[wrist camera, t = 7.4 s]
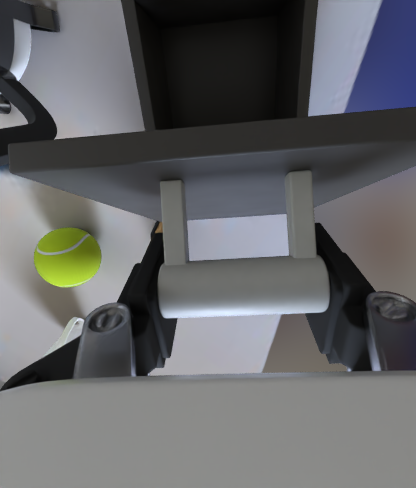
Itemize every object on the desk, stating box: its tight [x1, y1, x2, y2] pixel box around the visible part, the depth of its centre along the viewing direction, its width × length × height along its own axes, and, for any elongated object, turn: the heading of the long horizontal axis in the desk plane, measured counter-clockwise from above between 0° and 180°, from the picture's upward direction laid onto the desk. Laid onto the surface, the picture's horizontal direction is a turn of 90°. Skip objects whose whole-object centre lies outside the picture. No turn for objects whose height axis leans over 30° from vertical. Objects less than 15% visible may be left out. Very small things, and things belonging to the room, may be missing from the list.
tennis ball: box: [34, 228, 101, 287], centre depth 31 cm, size 7×7×7 cm
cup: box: [42, 317, 84, 358], centre depth 38 cm, size 7×10×8 cm
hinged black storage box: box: [121, 0, 318, 131], centre depth 22 cm, size 15×12×9 cm
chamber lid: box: [8, 107, 416, 318], centre depth 14 cm, size 15×12×5 cm
